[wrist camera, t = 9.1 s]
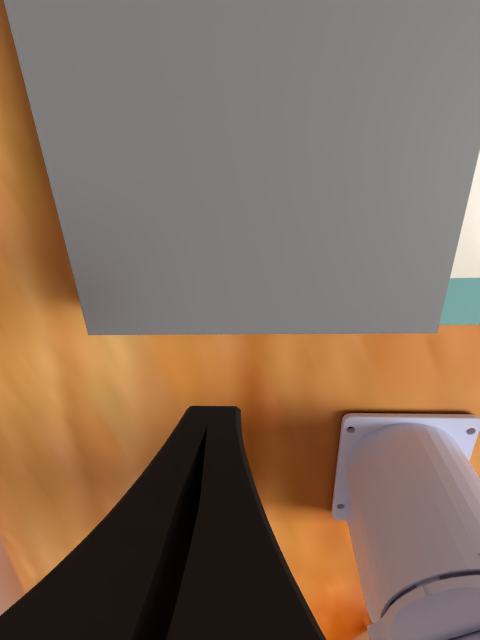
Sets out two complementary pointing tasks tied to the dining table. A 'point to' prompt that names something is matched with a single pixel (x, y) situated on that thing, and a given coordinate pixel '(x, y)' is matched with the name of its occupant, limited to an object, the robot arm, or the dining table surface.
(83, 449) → the dining table surface
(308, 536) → the dining table surface
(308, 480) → the dining table surface
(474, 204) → the tile
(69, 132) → the block
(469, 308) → the mat
